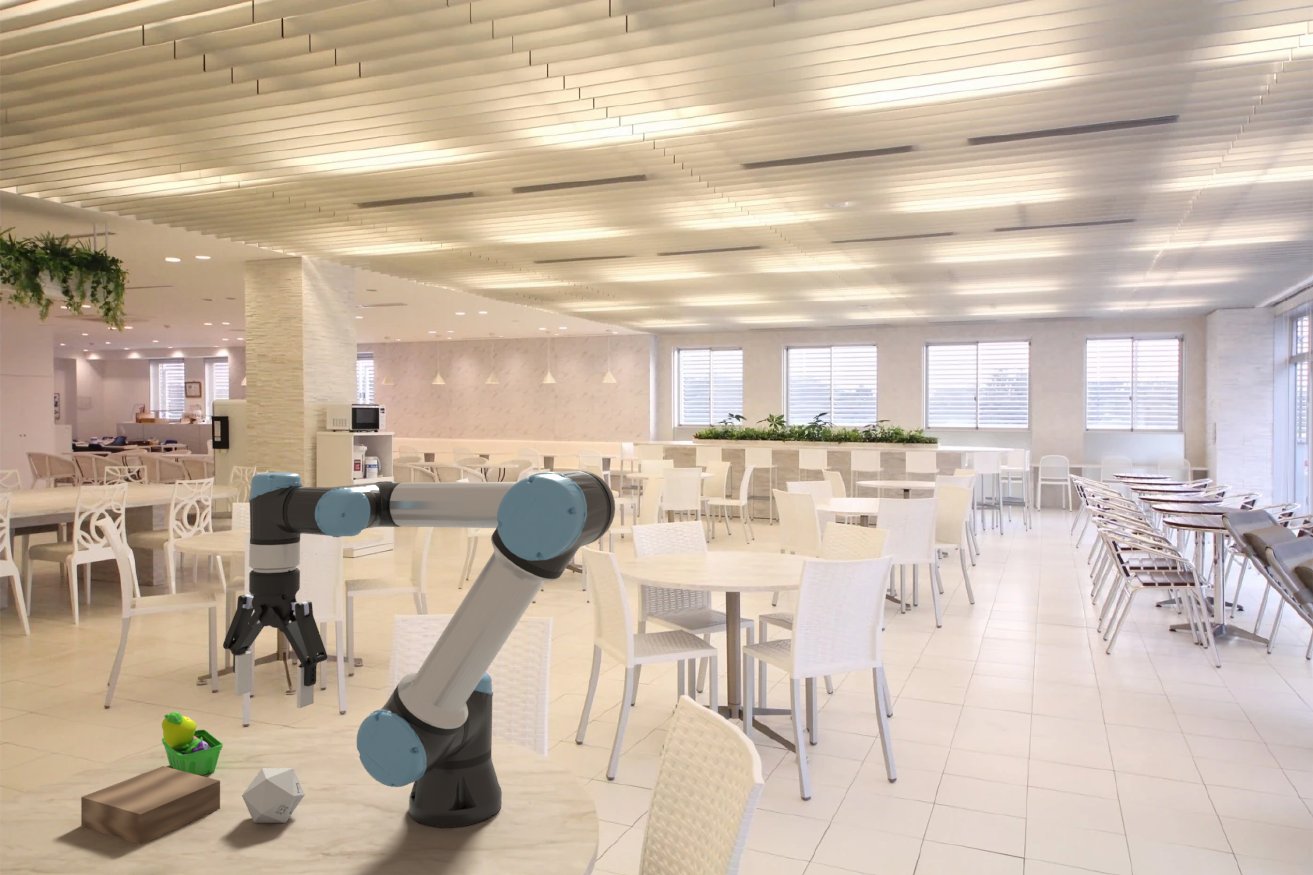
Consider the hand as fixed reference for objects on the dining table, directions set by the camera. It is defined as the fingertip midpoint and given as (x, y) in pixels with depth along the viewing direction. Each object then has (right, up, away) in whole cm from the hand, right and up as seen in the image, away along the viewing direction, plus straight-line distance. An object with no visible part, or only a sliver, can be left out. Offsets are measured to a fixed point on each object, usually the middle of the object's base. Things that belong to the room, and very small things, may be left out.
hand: (273, 699), depth 143 cm
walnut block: (-20, -20, 0) cm, 28 cm away
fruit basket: (-24, -19, +20) cm, 37 cm away
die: (0, -20, 0) cm, 20 cm away
